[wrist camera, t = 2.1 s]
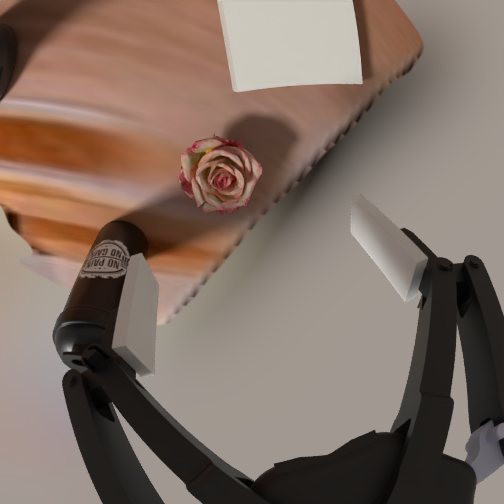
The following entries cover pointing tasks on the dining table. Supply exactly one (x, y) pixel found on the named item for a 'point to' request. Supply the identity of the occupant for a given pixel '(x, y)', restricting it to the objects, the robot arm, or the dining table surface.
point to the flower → (219, 174)
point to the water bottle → (96, 291)
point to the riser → (290, 42)
